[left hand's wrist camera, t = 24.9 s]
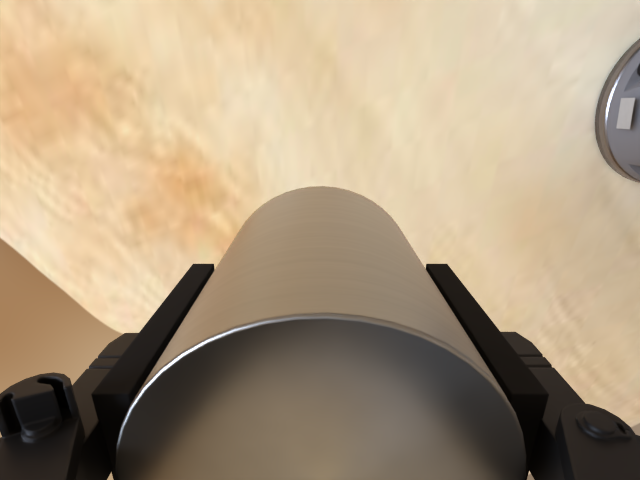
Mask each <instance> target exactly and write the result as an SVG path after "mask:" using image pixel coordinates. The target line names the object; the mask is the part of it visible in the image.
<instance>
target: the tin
mask: <svg viewBox="0 0 640 480" xmlns="http://www.w3.org/2000/svg"><path fill="white" fill-rule="evenodd" d="M115 468H116V476H117V480H525V477H526V451H525V444H524V438H523V433H522V430H521V427H520V424H519V421H518V418H517V416H516V413H515V411H514V409H513V408H512V406H511V404H510V403H509V401H508V399H507V397H506V396H505V394H504V392H503V391H502V389H501V387H500V386H499V384H498V383H497V381H496V380H495V378H494V376H493V375H492V373H491V372H490V370H489V368H488V367H487V365H486V364H485V362H484V361H483V359H482V357H481V356H480V354H479V353H478V351H477V350H476V348H475V346H474V345H473V343H472V342H471V340H470V338H469V337H468V335H467V334H466V332H465V331H464V329H463V327H462V326H461V324H460V323H459V321H458V319H457V318H456V316H455V315H454V313H453V312H452V310H451V308H450V307H449V305H448V304H447V302H446V301H445V299H444V297H443V296H442V294H441V293H440V291H439V289H438V288H437V286H436V285H435V283H434V282H433V280H432V278H431V277H430V275H429V274H428V272H427V270H426V269H425V267H424V266H423V264H422V263H421V261H420V259H419V258H418V256H417V255H416V253H415V252H414V250H413V248H412V247H411V245H410V244H409V242H408V240H407V239H406V237H405V236H404V234H403V233H402V231H401V229H400V228H399V226H398V225H397V224H396V222H395V221H394V220H393V219H392V217H391V216H390V215H389V214H388V213H387V212H386V211H385V210H384V209H382V208H381V207H380V206H378V205H377V204H376V203H374V202H373V201H371V200H369V199H368V198H366V197H364V196H362V195H360V194H357V193H354V192H352V191H349V190H345V189H340V188H335V187H325V186H320V187H306V188H300V189H296V190H292V191H289V192H286V193H283V194H281V195H279V196H277V197H275V198H273V199H271V200H270V201H268V202H266V203H265V204H263V205H262V206H261V207H260V208H258V209H257V210H256V211H255V212H254V213H253V214H252V215H251V216H250V217H249V218H248V219H247V220H246V222H245V223H244V225H243V226H242V227H241V229H240V230H239V232H238V234H237V235H236V237H235V238H234V240H233V242H232V243H231V245H230V246H229V248H228V250H227V251H226V253H225V254H224V256H223V258H222V259H221V261H220V262H219V264H218V266H217V267H216V269H215V270H214V272H213V274H212V275H211V277H210V278H209V280H208V282H207V283H206V285H205V286H204V288H203V290H202V291H201V293H200V294H199V296H198V298H197V299H196V301H195V302H194V304H193V306H192V307H191V309H190V310H189V312H188V314H187V315H186V317H185V318H184V320H183V322H182V323H181V325H180V326H179V328H178V330H177V331H176V333H175V334H174V336H173V338H172V339H171V341H170V342H169V344H168V346H167V347H166V349H165V350H164V352H163V354H162V355H161V357H160V358H159V360H158V362H157V363H156V365H155V366H154V368H153V370H152V371H151V373H150V374H149V376H148V378H147V379H146V381H145V382H144V384H143V386H142V387H141V389H140V390H139V392H138V394H137V395H136V397H135V398H134V400H133V402H132V403H131V405H130V407H129V409H128V412H127V414H126V416H125V418H124V420H123V423H122V425H121V429H120V433H119V438H118V442H117V448H116V465H115Z"/></svg>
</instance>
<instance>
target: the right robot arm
mask: <svg viewBox="0 0 640 480" xmlns="http://www.w3.org/2000/svg"><path fill="white" fill-rule="evenodd" d="M595 132H596V139H597V143H598V146H599V149H600V151H601V154H602V155H603V157H604V159H605V160H606V162H607V163H608V164H609V165H610V167H611V168H612V169H614V170H615V171H616V172H617V173H619V174H620V175H622V176H623V177H625V178H627V179H630V180H633V181H636V182H640V39H639V40H638V41H637V42H635V43H634V44H633V45H632V46H631V47H630V48H629V49H628V50H627V51H626V52H625V54H624V55H623V56H622V57H621V58H620V60H619V61H618V62H617V64H616V65H615V66H614V68H613V70H612V71H611V73H610V74H609V76H608V78H607V80H606V82H605V84H604V87H603V89H602V91H601V94H600V97H599V101H598V105H597V109H596V116H595Z"/></svg>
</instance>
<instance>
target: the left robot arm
mask: <svg viewBox="0 0 640 480" xmlns="http://www.w3.org/2000/svg"><path fill="white" fill-rule="evenodd" d="M426 270H427V272H428V274H429V275H430V277H431V278H432V280H433V282H434V283H435V285H436V286H437V288H438V289H439V291H440V293H441V294H442V296H443V297H444V299H445V301H446V302H447V304H448V305H449V307H450V308H451V310H452V312H453V313H454V315H455V316H456V318H457V319H458V321H459V323H460V324H461V326H462V327H463V329H464V331H465V332H466V334H467V335H468V337H469V338H470V340H471V342H472V343H473V345H474V346H475V348H476V350H477V351H478V353H479V354H480V356H481V357H482V359H483V361H484V362H485V364H486V365H487V367H488V368H489V370H490V372H491V373H492V375H493V376H494V378H495V380H496V381H497V383H498V384H499V386H500V387H501V389H502V391H503V392H504V394H505V396H506V397H507V399H508V401H509V403H510V404H511V406H512V408H513V409H514V411H515V413H516V416H517V418H518V421H519V424H520V427H521V430H522V433H523V438H524V444H525V451H526V477H525V480H527V476H528V473H529V471H530V472H531V474H532V476H533V477H534V479H535V480H640V436H638V435H635V433H634V432H633V430H632V429H631V427H630V426H628V425H627V424H626V423H625V422H624V421H622V420H621V419H620V418H619V417H617V416H615V415H614V414H612V413H610V412H608V411H606V410H605V409H602V408H599V407H596V406H593V405H590V404H585V403H584V401H583V400H582V399H581V398H580V397H579V396H578V395H577V393H576V392H575V391H574V390H573V389H572V388H571V387H570V385H569V384H568V383H567V382H566V381H565V380H564V379H563V378H562V376H561V375H560V374H559V373H558V372H557V371H556V370H555V368H552V366H551V364H550V363H549V362H548V360H547V359H546V358H545V357H543V356H542V354H541V353H540V351H539V350H538V349H537V348H536V347H535V346H534V345H533V343H532V342H530V341H529V340H527V339H526V338H524V337H522V336H521V335H519V334H518V333H516V332H500V331H499V330H498V328H497V327H496V326H495V325H494V323H493V322H492V321H491V319H490V318H489V317H488V316H487V314H486V313H485V312H484V310H483V309H482V308H481V307H480V305H479V304H478V303H477V302H476V300H475V299H474V298H473V296H472V295H471V294H470V293H469V291H468V290H467V289H466V288H465V286H464V285H463V284H462V282H461V281H460V280H459V279H458V277H457V276H456V275H455V273H454V272H453V271H452V270H451V268H450V267H449V266H448V265H447V264H426ZM213 272H214V264H193V265H192V266H191V267H190V269H189V270H188V271H187V272H186V274H185V275H184V276H183V278H182V279H181V280H180V281H179V283H178V284H177V285H176V287H175V288H174V289H173V290H172V292H171V293H170V294H169V295H168V297H167V298H166V299H165V301H164V302H163V303H162V304H161V306H160V307H159V308H158V309H157V311H156V312H155V313H154V315H153V316H152V317H151V318H150V320H149V321H148V322H147V324H146V325H145V326H144V327H143V329H142V330H141V331H140V332H139V333H124V334H123V335H121V336H120V337H118V338H117V339H115V340H114V341H112V342H111V343H109V344H108V345H107V347H106V348H105V349H104V350H103V351H102V352H101V353H100V354H99V356H98V358H96V359H95V360H94V361H93V362H92V364H91V365H90V366H89V369H86V370H85V372H84V373H83V374H82V375H81V376H80V377H79V378H78V380H77V381H76V382H75V383H74V384H73V385H72V384H71V381H70V378H68V377H67V376H66V375H64V374H59V373H47V374H40V375H37V376H33V377H30V378H27V379H24V380H22V381H20V382H18V383H16V384H14V385H12V386H10V387H9V388H7V389H6V390H5V391H3V392H2V393H1V394H0V432H1V435H2V437H1V438H0V480H107V478H108V476H109V475H110V473H111V471H112V475H113V479H114V480H117V476H116V468H115V465H116V448H117V442H118V438H119V433H120V429H121V425H122V423H123V420H124V418H125V416H126V414H127V412H128V409H129V407H130V405H131V403H132V402H133V400H134V398H135V397H136V395H137V394H138V392H139V390H140V389H141V387H142V386H143V384H144V382H145V381H146V379H147V378H148V376H149V374H150V373H151V371H152V370H153V368H154V366H155V365H156V363H157V362H158V360H159V358H160V357H161V355H162V354H163V352H164V350H165V349H166V347H167V346H168V344H169V342H170V341H171V339H172V338H173V336H174V334H175V333H176V331H177V330H178V328H179V326H180V325H181V323H182V322H183V320H184V318H185V317H186V315H187V314H188V312H189V310H190V309H191V307H192V306H193V304H194V302H195V301H196V299H197V298H198V296H199V294H200V293H201V291H202V290H203V288H204V286H205V285H206V283H207V282H208V280H209V278H210V277H211V275H212V274H213Z"/></svg>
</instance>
